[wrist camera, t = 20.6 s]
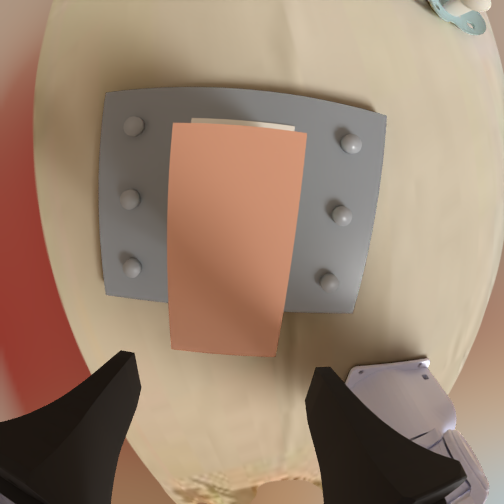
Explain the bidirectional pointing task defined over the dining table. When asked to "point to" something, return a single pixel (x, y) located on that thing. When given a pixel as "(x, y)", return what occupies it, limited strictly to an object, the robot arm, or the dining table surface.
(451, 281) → the dining table surface
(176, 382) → the dining table surface
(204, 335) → the terracotta brick
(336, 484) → the robot arm
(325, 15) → the dining table surface
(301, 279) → the baseplate
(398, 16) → the dining table surface
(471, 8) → the pacifier
